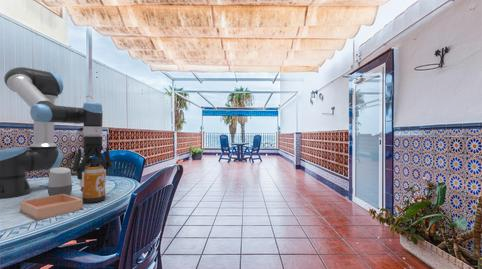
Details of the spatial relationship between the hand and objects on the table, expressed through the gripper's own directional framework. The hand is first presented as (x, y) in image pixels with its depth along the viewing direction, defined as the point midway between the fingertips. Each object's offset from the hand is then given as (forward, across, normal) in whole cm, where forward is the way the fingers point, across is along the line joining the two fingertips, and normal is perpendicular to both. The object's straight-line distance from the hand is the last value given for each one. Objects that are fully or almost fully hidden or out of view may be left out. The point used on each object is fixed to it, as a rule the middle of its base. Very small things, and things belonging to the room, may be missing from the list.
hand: (93, 184), depth 110 cm
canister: (+8, 0, 0) cm, 8 cm away
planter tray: (+7, -16, -1) cm, 18 cm away
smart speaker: (+8, -5, +20) cm, 22 cm away
